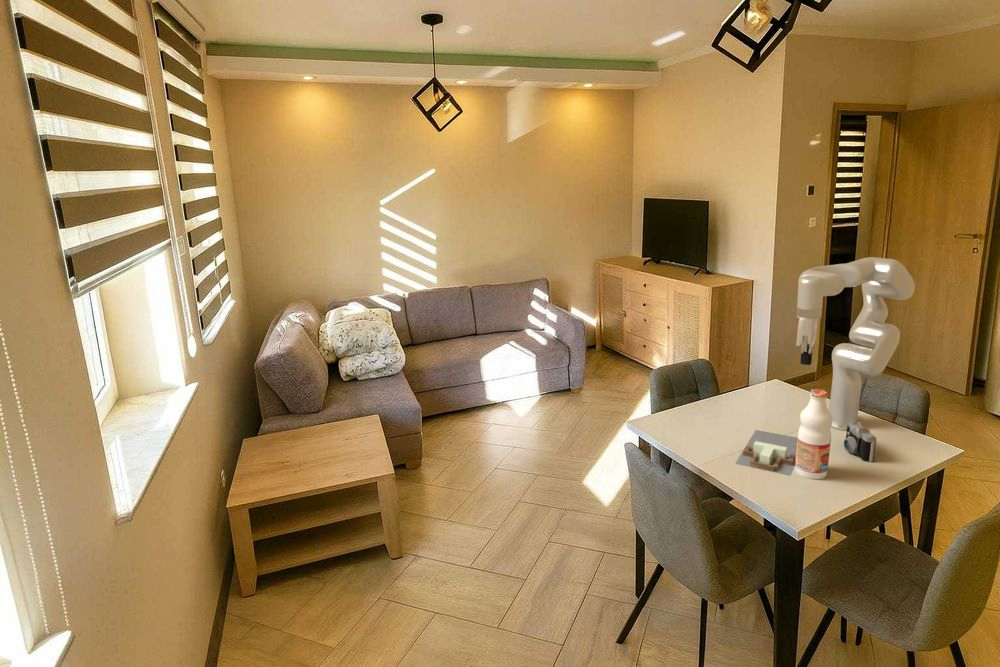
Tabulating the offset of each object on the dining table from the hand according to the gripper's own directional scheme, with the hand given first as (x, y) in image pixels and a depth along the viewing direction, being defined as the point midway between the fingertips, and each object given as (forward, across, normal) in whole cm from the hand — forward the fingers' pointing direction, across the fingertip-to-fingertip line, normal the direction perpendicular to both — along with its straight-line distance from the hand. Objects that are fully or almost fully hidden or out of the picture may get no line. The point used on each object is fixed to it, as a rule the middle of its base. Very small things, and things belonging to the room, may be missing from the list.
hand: (805, 363), depth 210 cm
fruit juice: (+29, +24, +7) cm, 38 cm away
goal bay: (+28, +22, -7) cm, 37 cm away
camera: (+30, +1, +17) cm, 35 cm away
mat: (+29, +14, -7) cm, 33 cm away
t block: (+28, +22, -7) cm, 37 cm away
